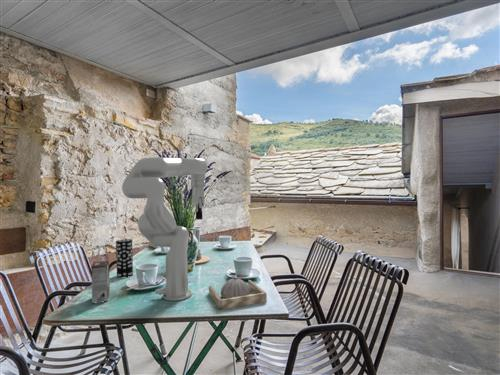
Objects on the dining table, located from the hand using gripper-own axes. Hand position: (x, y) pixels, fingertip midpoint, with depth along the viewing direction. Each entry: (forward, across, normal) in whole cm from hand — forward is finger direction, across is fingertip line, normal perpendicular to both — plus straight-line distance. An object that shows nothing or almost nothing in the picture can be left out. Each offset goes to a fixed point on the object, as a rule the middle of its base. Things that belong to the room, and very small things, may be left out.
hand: (199, 219), depth 153 cm
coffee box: (+32, +8, -46) cm, 57 cm away
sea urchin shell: (+32, +30, +10) cm, 45 cm away
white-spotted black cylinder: (+32, -26, -38) cm, 56 cm away
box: (+32, +30, +10) cm, 45 cm away
